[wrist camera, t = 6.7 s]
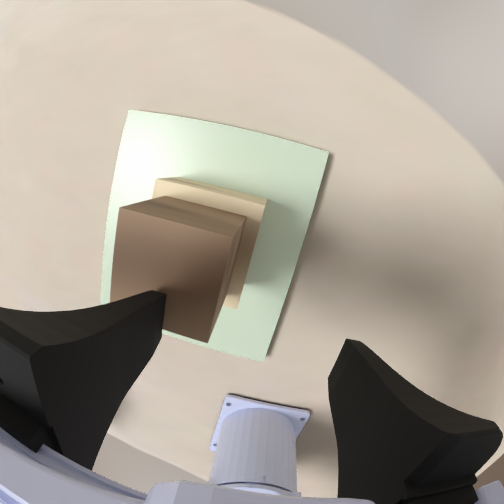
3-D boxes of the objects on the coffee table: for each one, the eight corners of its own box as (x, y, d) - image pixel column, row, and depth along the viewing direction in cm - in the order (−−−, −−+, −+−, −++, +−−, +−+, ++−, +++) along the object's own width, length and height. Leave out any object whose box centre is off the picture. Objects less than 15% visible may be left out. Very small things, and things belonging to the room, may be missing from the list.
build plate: (263, 355, 23) (263, 362, 22) (105, 305, 23) (100, 310, 22) (326, 153, 19) (329, 152, 18) (135, 112, 19) (128, 109, 18)
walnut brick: (226, 295, 16) (208, 343, 11) (151, 272, 16) (109, 310, 12) (246, 216, 15) (233, 237, 10) (164, 195, 15) (119, 207, 10)
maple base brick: (244, 284, 20) (237, 309, 16) (162, 260, 20) (139, 280, 17) (267, 198, 19) (265, 205, 15) (178, 176, 19) (155, 178, 15)
